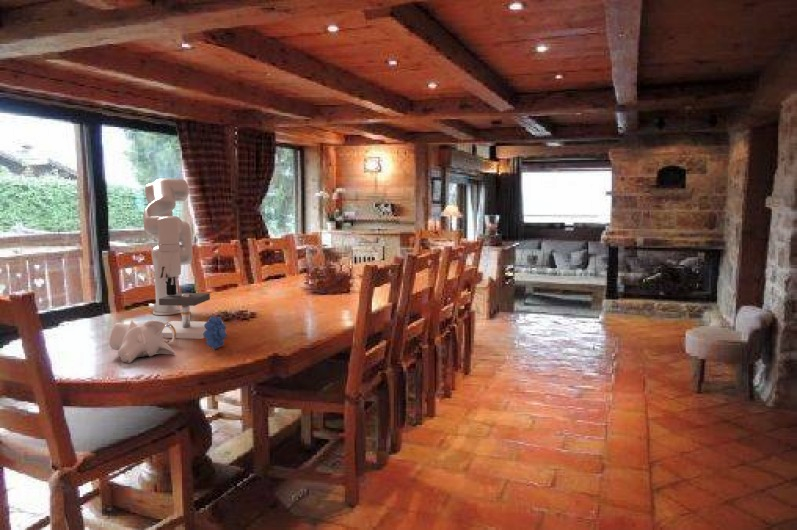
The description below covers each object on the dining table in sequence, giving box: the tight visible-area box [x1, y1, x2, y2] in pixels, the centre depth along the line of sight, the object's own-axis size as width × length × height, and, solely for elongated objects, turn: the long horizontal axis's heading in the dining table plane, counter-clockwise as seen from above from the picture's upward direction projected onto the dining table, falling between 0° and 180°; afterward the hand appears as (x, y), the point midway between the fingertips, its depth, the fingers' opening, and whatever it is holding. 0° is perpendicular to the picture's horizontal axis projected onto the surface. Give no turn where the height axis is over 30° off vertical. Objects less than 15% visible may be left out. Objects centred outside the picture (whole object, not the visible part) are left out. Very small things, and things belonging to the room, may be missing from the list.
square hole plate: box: [159, 292, 211, 307], centre depth 216 cm, size 14×14×2 cm
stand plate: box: [162, 320, 224, 340], centre depth 217 cm, size 22×20×2 cm
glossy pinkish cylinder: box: [180, 294, 191, 328], centre depth 216 cm, size 4×4×13 cm
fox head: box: [108, 319, 176, 364], centre depth 180 cm, size 14×17×20 cm
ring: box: [163, 321, 177, 345], centre depth 198 cm, size 7×3×8 cm, turn 67°
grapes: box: [203, 316, 228, 350], centre depth 191 cm, size 12×7×12 cm, turn 163°
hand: (171, 294), depth 216 cm, fingers closed
